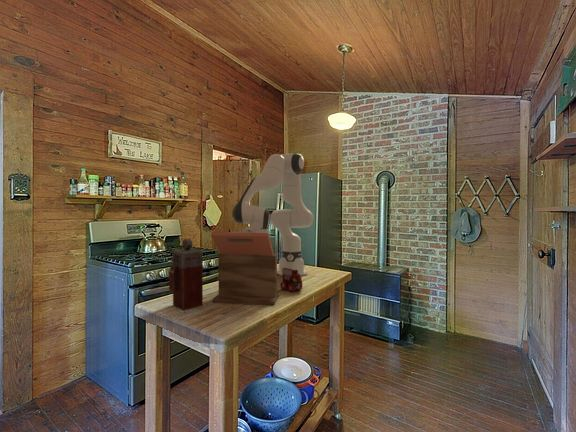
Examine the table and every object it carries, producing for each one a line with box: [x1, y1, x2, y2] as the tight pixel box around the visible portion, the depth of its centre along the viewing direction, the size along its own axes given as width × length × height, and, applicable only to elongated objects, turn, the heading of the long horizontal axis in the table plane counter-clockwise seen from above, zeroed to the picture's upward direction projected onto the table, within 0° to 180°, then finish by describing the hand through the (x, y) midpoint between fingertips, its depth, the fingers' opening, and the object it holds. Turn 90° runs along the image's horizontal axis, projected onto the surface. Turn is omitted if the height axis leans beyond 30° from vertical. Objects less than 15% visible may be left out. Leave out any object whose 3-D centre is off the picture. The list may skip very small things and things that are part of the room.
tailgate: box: [210, 231, 275, 255], centre depth 130 cm, size 2×24×15 cm
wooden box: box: [212, 253, 280, 306], centre depth 137 cm, size 14×27×20 cm, turn 82°
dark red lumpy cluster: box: [279, 268, 303, 293], centre depth 152 cm, size 7×12×10 cm, turn 47°
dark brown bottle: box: [168, 238, 204, 311], centre depth 127 cm, size 9×11×28 cm
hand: (242, 239), depth 130 cm, fingers closed
